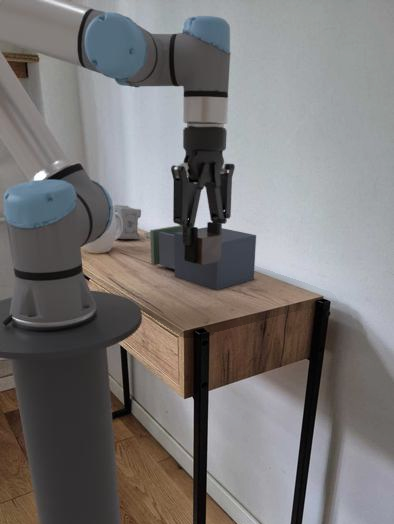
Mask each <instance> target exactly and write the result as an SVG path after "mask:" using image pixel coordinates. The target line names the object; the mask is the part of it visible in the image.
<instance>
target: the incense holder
mask: <svg viewBox="0 0 394 524" xmlns="http://www.w3.org/2000/svg"><path fill="white" fill-rule="evenodd" d="M114 207H115V212H117V213H118V214H119V215H120V216H121V218H122V220H123V230H122V233H121V235H120V237H119V238H118V239H119V240H140V237H141V236H140V234H139V232H138V227H139V219H140V218H141V216H142V210H141V208H133V207H131V206H129V205H123V204H122V205H121V204H114ZM115 220H116V228H115V229H116V231H115V235H116V234H117V231H118V227H119V223H118V218H117V217H116V216H115Z"/></svg>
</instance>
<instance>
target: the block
mask: <svg viewBox="0 0 394 524" xmlns="http://www.w3.org/2000/svg"><path fill="white" fill-rule="evenodd" d="M184 260H185V244H184ZM219 261H221V235H219V234H214V233H210V232H205V231H201V232H198V239H197V263H195V264H199V265H206V264H210V263H215V262H219Z"/></svg>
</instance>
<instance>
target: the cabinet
mask: <svg viewBox="0 0 394 524" xmlns="http://www.w3.org/2000/svg"><path fill="white" fill-rule="evenodd" d="M201 231H205V232H207V226H206V227H199V228H198V232H201ZM221 232H222V233H221V261H219V262H215V263H210V264H206V265H199V264H195V263H191V262H188V261H185V260H184V244H183V242H182V240H183V231H182V232H176V233H174V261H175V269H174V277H175V278H178V279H182V280H184V281H187V282H190V283H193V284H197V285H199V286H203V287H206V288H209V289H211V290H214V291H219V290H222V289H225V288H229V287H232V286H236V285H239V284H243V283H246V282H250V281H253V280H254V279H255V267H256V266H255V265H256V263H255V262H256V249H257V248H256V246H257V234H252V233H248V232H243V231H238V230H233V229H227V228H223V227H222V231H221Z"/></svg>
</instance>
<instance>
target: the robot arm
mask: <svg viewBox="0 0 394 524" xmlns="http://www.w3.org/2000/svg"><path fill="white" fill-rule="evenodd" d="M0 42H2V43H5V44H8V45H11V46H14V47H18V48H20V49H24V50H27V51H31V52H33V53H37V54H40V55H43V56H47V57H49V58H53V59H54V60H55V59H56V60H59V61H62V62H65V63H68V64H71V65H74V66H77V67H81V68H84V69H87V70H89V71H91V72H95V73H97V74H101V75H103V76H105V77H107V78H110V79H114V81H115V82H116V84H117V85H119V86H123V87H134V88H140V87H183V123H184V124H186V126H185V127H184V128H183V129H182V140H183V141H182V147H183V150H184V151H185V156H184V158H183V162H182V163H180V164H178V165H176V164H175V165H171V167H170V172H171V176H172V180H173V195H172V196H173V202H172V203H173V206H172V207H173V209H172V210H173V211H172V212H173V213H172V222H173V223H174V224H175V225H176V224H177V225H178V226H179V225H181V226H182V228H183V240H182V242H183V244H185V261H188V262H191V263H197V239H198V229H199V228H198V227H197V226H195V223H196V220H197V219H196V218H197V216H198V215H197V213H198V209H199V204H200V201H201V194H202V190H204V188H205V193H206V197H207V205H208V211H209V217H210V221H208V222H207V223H206V227H207V232H210V233H214V234H219V235H221V233H222V232H221V231H222V228H223V225H225V224H226V223H227V221H228V220H229V219H230V218H231V215H232V189H233V175H234V172H235V169H236V166H235V164H234V163H230V162H229V163H228V162H226V161H225V158H224V155H223V152H224V151H225V150H226V148H227V134H228V133H227V132H228V130H227V129H226V128H225V127H224V125H226V124H228V114H229V113H228V110H229V109H228V108H229V84H230V83H229V82H230V64H231V54H232V53H231V27H230V24H229V23H228V22H227V20H226V19H224V18H222V17H219V16H214V15H197V16H190V17H187V18H186V19H185V20H184V22H183V29H182V32H178V33H152V32H150V31H148V30H147V29H145V28H143V27H142V26H140V25H139V24H137V22H135V21H134V20H133V19H131V18H130V17H128V16H125V15H123V14H121V13H117V12H109V11H108V12H105V11H102V10H98V9H94V8H92V7H89V6H87V5H83V4H80V3H77V2H74V1H71V0H0ZM0 139H1V140H2V142H3V144H4V145H5V147H6V148H7V150H8V152H9V153H10V154H11V156H12V157H13V159H14V160H15V162H16V164H17V165H18V167H19V168H20V170H21V171H22V172H23V174H24V175H25V177H26V179H27V181H24V182H20V183H17V184H14V185H12V186H10V187H9V188H7V189H6V190H5V192H4V194H3V217H4V220H5V225H6V230H7V236H8V243H9V248H10V254H11V260H12V268H13V272H14V285H13V291H12V295H11V296H12V297H11V298H12V301H11V307H10V316H9V317H7V318H6V319H5V320H4V321H3V322H2V323H3V324H4V325H5V326H7V325H8V324H9V323H10V322H11V323H12V324H13V325H14V326H15V327H17V328H19V329H22V330H26V331H32V332H56V331H63V330H69V329H73V328H77V327H80V326H83V325H85V324H87V323H89V322H91V321H92V320H93V319H94V318H95V317H96V316H97V308H96V303H95V300H94V298H93V295H92V293H91V291H92V290H91V288H90V286H89V284H88V282H87V280H86V277H85V275H84V268H83V258H82V248H83V247H84V245H86V244H88V243H91V242H94V241H95V240H97V239H98V238H100V237H101V236H102V235H103V234H104V233H105V232H106V231H107V230H108V228H109V227H110V225H111V222H112V219H113V212H114V210H113V204H114V202H113V200H112V197H111V195H110V193H109V192H108V190H107V189H106V188H105V187H104V186H103V185H102V184H100V182H97V181H95V180H93V179H91V178H90V176H89V175H88V173H87V172H86V170H85V168H84V167H83V165H82V164H81V162H80V161H77V160H74V159H70V158H69V157H68V156H67V155H66V153H65V151H64V150H63V148H62V147H61V145H60V143H59V142H58V140H57V138H56V137H55V135H54V133H53V132H52V131H51V129H50V127H49V126H48V124H47V123H46V121H45V120H44V118H43V116H42V114H41V113H40V112H39V110H38V108H37V107H36V105H35V104H34V102H33V101H32V98H31V97H30V95H29V94H28V93H27V91H26V89H25V88H24V86H23V84H22V83H21V81H20V80H19V78H18V76H17V75H16V73H15V72H14V70H13V68H12V67H11V65H10V64H9V62H8V61H7V59H6V57H5V56H4V54H3V52H2V51H1V50H0ZM227 219H228V220H227Z"/></svg>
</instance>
